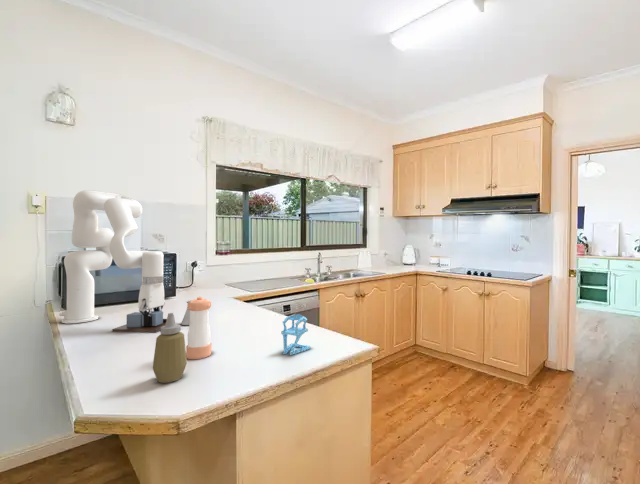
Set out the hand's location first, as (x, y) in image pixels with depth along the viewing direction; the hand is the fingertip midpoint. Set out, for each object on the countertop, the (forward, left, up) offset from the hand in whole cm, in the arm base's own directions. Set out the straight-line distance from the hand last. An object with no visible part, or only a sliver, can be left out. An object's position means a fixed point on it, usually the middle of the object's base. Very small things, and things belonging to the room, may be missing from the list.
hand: (152, 323), depth 141 cm
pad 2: (0, 0, 0) cm, 0 cm away
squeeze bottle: (+39, -48, -2) cm, 62 cm away
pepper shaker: (+37, -30, -2) cm, 47 cm away
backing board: (-3, 0, -2) cm, 4 cm away
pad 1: (-6, 0, -1) cm, 6 cm away
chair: (+67, -24, -2) cm, 71 cm away
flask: (+12, +8, -2) cm, 14 cm away
